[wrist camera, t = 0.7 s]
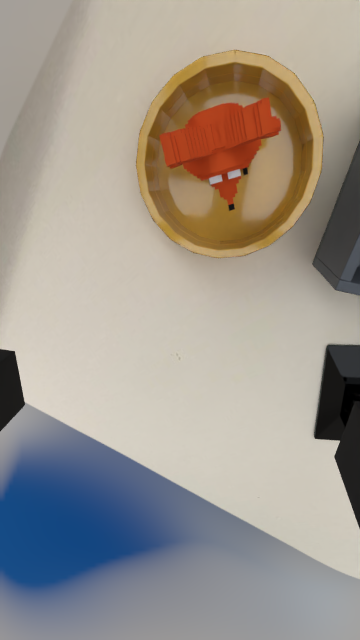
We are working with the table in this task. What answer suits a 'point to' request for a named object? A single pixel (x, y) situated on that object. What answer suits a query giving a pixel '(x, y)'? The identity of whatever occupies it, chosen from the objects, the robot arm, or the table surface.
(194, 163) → the toy animal
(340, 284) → the bin
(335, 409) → the build plate
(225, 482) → the table surface
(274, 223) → the bowl
